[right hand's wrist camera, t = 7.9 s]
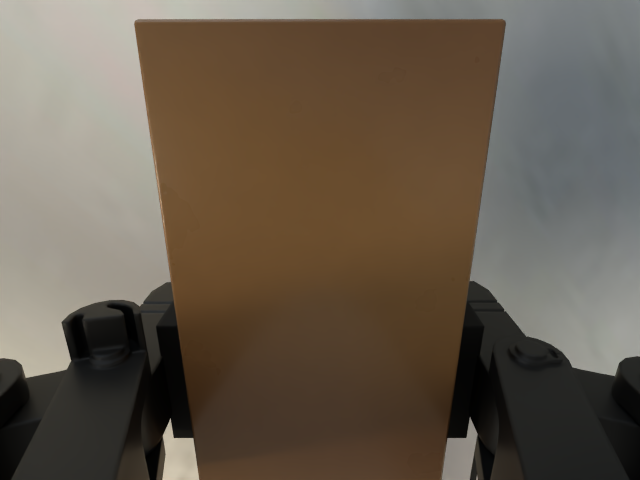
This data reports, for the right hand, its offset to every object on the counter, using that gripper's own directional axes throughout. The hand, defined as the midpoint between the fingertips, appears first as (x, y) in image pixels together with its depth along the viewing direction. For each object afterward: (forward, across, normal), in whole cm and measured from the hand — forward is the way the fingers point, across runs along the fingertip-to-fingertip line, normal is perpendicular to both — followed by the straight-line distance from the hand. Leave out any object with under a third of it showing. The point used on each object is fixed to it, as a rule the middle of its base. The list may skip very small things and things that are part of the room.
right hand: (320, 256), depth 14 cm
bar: (+1, 0, -26) cm, 26 cm away
